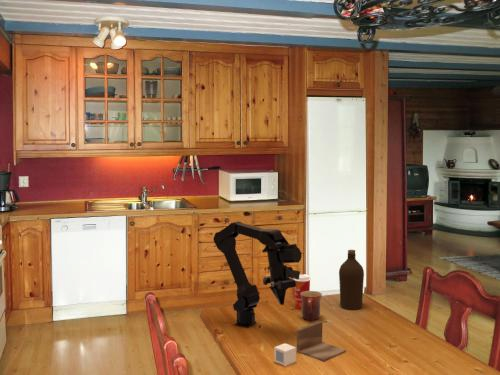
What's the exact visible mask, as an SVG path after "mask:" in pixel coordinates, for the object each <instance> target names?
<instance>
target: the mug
mask: <svg viewBox="0 0 500 375" xmlns="http://www.w3.org/2000/svg"><path fill="white" fill-rule="evenodd" d="M300 295H301V298H302V310H301V315H302V318H303V319H304V320H306V321H317V320H319V319H320V317H321V300H322V295H323V294H322V292H321V291H316V290H310V291H304V292H301V293H300Z"/></svg>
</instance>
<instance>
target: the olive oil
mask: <svg viewBox="0 0 500 375" xmlns="http://www.w3.org/2000/svg"><path fill="white" fill-rule="evenodd" d="M356 255H357V254H356V249H348V250H347V259H346V260H345V261H344V262H343V263H342V264H341V265H340V268H339V269H338V275H339V276H338V278H339V280H338V282H339V302H340V303H339V304H340V305H339V306H340V307H341V308H342V309H344V310H348V311H349V310H351V311H357V310H360V309H362V307H363V294H364V280H365V279H364V277H365V271H364V270H365V269H364V268H363V266H362V265H361V263H360V262H359V261H358V260H357V259H356Z"/></svg>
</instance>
